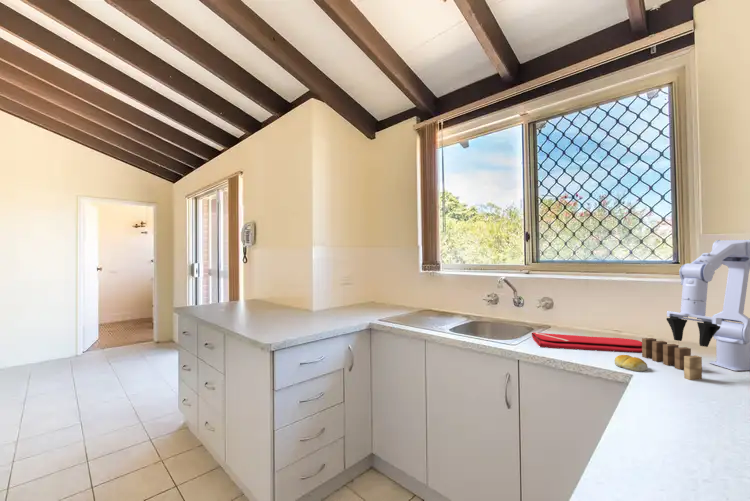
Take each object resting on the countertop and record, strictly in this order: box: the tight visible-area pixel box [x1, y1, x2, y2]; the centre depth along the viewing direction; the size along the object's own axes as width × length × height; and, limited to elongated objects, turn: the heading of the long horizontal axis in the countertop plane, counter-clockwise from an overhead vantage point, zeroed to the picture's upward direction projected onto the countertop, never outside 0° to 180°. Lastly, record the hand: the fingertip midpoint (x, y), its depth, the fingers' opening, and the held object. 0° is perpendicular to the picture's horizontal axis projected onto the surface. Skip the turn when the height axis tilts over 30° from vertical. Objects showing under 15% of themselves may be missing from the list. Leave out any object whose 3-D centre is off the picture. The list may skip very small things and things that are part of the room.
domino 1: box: [641, 337, 657, 359], centre depth 123 cm, size 4×2×7 cm, turn 97°
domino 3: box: [662, 343, 680, 367], centre depth 115 cm, size 4×2×7 cm, turn 97°
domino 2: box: [651, 340, 668, 363], centre depth 119 cm, size 4×2×7 cm, turn 97°
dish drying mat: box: [531, 331, 642, 354], centre depth 139 cm, size 16×41×4 cm, turn 77°
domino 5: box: [683, 354, 703, 381], centre depth 103 cm, size 4×2×7 cm, turn 97°
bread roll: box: [614, 354, 649, 372], centre depth 114 cm, size 8×9×4 cm
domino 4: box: [674, 346, 692, 371], centre depth 111 cm, size 4×2×7 cm, turn 97°
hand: (690, 343), depth 103 cm, fingers open, 7 cm apart
